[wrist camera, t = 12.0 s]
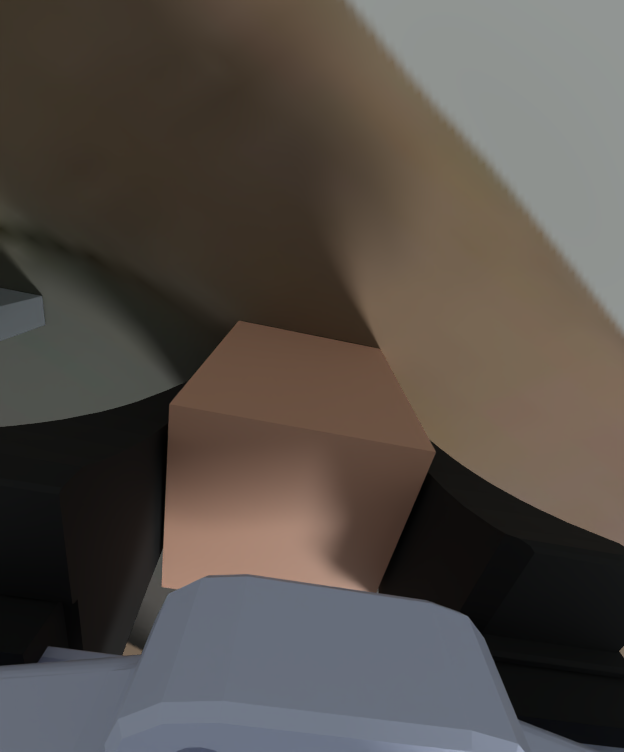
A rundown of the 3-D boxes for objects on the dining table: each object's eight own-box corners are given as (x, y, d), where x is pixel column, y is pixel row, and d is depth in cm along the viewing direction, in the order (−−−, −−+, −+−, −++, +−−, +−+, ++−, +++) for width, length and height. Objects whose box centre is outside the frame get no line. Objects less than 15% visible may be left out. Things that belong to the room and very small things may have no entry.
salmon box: (346, 462, 14) (366, 615, 8) (223, 441, 14) (161, 587, 8) (380, 348, 12) (436, 452, 6) (238, 320, 12) (169, 404, 6)
